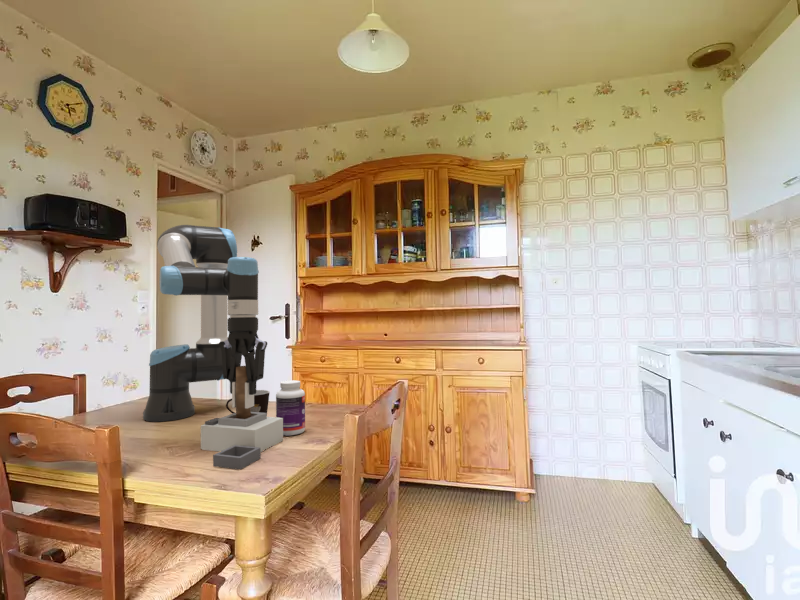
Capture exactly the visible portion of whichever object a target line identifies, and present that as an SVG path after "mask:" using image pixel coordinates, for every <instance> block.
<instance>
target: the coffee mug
mask: <svg viewBox="0 0 800 600" xmlns="http://www.w3.org/2000/svg"><path fill="white" fill-rule="evenodd" d="M269 400H270V390H266V389H256V394H254V406H253V407H251V412H261V413H267V414H268V407H269V402H270V401H269ZM230 402H232V398H230V399H227V401H226V405H225V407H226V409H227V411H229V412H230V414H233V413H236V411H233V410H231V408H230V407H229V403H230Z"/></svg>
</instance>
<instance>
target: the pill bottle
mask: <svg viewBox="0 0 800 600" xmlns="http://www.w3.org/2000/svg"><path fill="white" fill-rule="evenodd" d="M300 387H301V381H300V380H296V379H295V380H293V379H292V380H291V379H290V380H282V381H280V387H279V388H281V389H279V390H277V392H276V394H275V411H276V412H275V416H276V417H278V418H283V436H285V437H286V436H287V437H288V436H297V435H299V434H300V435H301V434H302V433H303V432H305V430H306V393H305V390H303V389H302V388H300Z"/></svg>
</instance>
